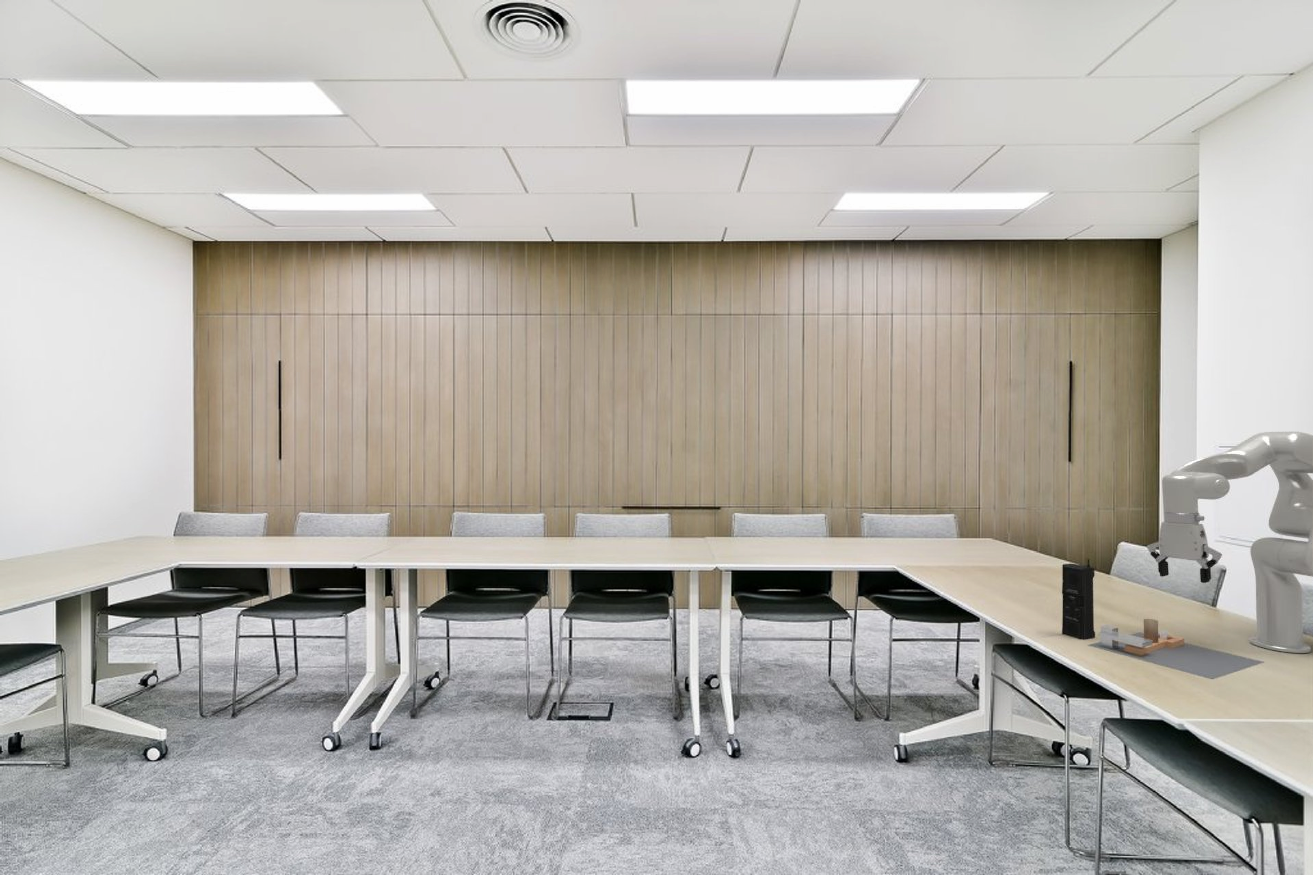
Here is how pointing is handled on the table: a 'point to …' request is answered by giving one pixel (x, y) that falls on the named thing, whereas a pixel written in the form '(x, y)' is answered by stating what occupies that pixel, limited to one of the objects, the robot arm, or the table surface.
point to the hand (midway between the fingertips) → (1184, 578)
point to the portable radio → (1078, 601)
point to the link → (1154, 639)
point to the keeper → (1120, 638)
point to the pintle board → (1188, 658)
